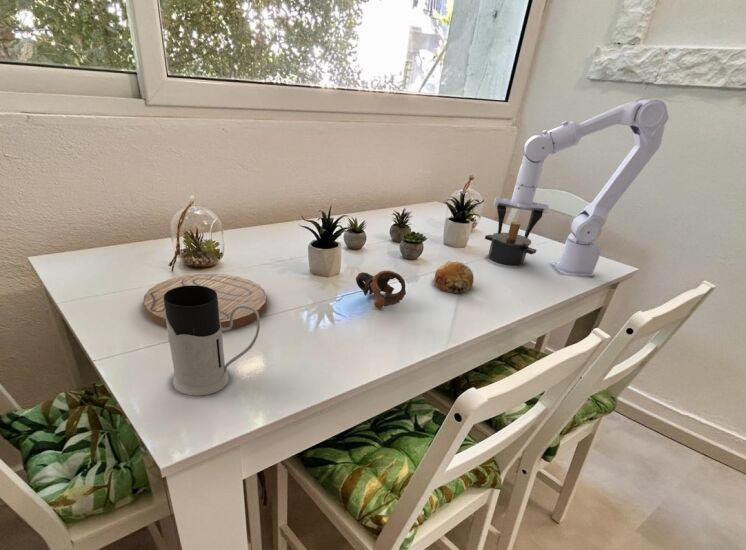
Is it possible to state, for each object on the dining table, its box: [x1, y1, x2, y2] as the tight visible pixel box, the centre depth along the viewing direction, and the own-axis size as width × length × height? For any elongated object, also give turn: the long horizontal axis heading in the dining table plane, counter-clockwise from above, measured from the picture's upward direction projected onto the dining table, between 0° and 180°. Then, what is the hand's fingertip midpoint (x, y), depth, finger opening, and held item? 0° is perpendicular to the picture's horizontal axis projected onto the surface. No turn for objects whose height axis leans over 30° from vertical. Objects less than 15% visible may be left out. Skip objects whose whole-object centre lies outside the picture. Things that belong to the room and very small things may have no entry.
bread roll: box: [434, 260, 475, 294], centre depth 117 cm, size 10×10×8 cm
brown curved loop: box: [355, 270, 407, 310], centre depth 106 cm, size 12×10×8 cm
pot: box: [484, 234, 537, 267], centre depth 137 cm, size 10×16×6 cm, turn 43°
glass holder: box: [164, 285, 261, 397], centre depth 72 cm, size 9×14×15 cm, turn 95°
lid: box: [491, 221, 532, 247], centre depth 134 cm, size 11×11×6 cm
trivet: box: [142, 273, 268, 330], centre depth 98 cm, size 25×25×2 cm
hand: (512, 234), depth 134 cm, fingers open, 7 cm apart
